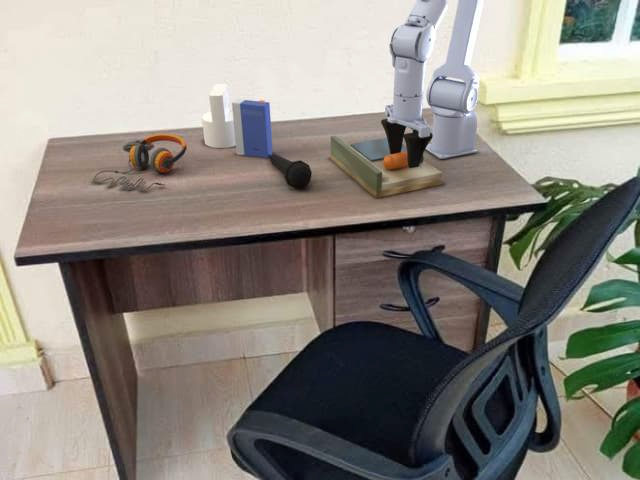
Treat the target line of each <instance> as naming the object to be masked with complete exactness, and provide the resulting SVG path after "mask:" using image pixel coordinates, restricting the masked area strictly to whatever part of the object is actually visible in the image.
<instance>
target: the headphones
mask: <svg viewBox="0 0 640 480" xmlns="http://www.w3.org/2000/svg"><path fill="white" fill-rule="evenodd" d="M164 141H165V142H173V143H177V144H179V145H180V146H181V150H180V151H179V152H178V153H177V154H175V155H173V154H172V152H171V151H170V150H169V149H167V148H166V147H157V149H155V150H154V151H153V152H152V154H151V155H150V154H149V149H148V148H147V146H146V145H149V144H153V143H156V142H164ZM187 149H188V147H187V143H186V141H185V140H184V138H182V137H181V136H179V135H176V134H172V133H156V134H152V135H148V136H146V137H144V138H143V139H142V140H141V141H139V142H138V143H137V144H136V145H134V146H132V147H130V150H129V154H128V158H129V160H128V162H127V163H128V167H129V168H130V170H128V171H118V170H109V169H107V170H102V171H99V172H98V173H96V174H95V175H94V176H93V182H94V183H96V184H101V183H103V182H106V181H108V180H109V181H110V180H111V182H110V183H109V184H108V186H107V188H108V189H110V188H112V187H113V186H115V184H116V183H119V185H121V186H122V187H121V190H122V191H125V190H127V191H131V190H132V189H134V187H135V189H138V188H139V191H141V192H146V191H148V190H149V189H150V188H151V187H152V186H153V185H157V186H164V187H165V186H166V184H163V183H161V182H153V183H151V184H150V185H149V186H148V187H146V188H145V189H142V188H143V187H144V186H145V184H146V183H147V181H146V180H145V179H144V178H143V177H141V178H139V179H138V180H136V182H135V183H133V182H131V179H129V178H128V179H127V176H126V175H139V174H144V173H145V174H146V173H147V172H148V173H149V172H152V171H153V172H156V173H157V174H164V173H169V172H170V171H171V170H172V169H173V167H174V165H175V163H176V162H177V161H179V160H180V159H181V158H182V157H183V156H184V155H185V153H186V151H187ZM149 164H150V168H151V169H147V167H148V166H149ZM131 165H132V166H133V167H134V168H138V169H139V170H144V171H141V172H132V171H133V167H132V166H131ZM146 169H147V170H146ZM105 172H106V173H107V172H108V173H109V172H110V173H115V174H120V175H123V176H121V177H119V178H118V179H117V180H115V179H114V178H113V177H108V178H106V179H102V180H101V181H96V177H97V176H98V175H100V174H102V173H105ZM126 179H127V180H126ZM120 180H121V181H120ZM114 181H115V182H114ZM119 181H120V182H119ZM130 182H131V183H130Z"/></svg>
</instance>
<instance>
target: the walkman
mask: <svg viewBox="0 0 640 480" xmlns="http://www.w3.org/2000/svg"><path fill="white" fill-rule="evenodd" d="M231 110H233V122H234V132H235V143H236V146H235V151H236V152H235V153H236V155H238V156H239V155H240V156H248V157H256V158H265V159H268V158H269V157H268V155H274V153H273V152H274V151H273V138H272V121H271V120H272V119H271V105H270V102H269V101H266V100H263V99H259V100H249V99H240V98H237V99H235V100H234V101H232V102H231Z"/></svg>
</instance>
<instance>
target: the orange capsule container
mask: <svg viewBox="0 0 640 480" xmlns="http://www.w3.org/2000/svg"><path fill="white" fill-rule="evenodd" d="M423 160H425V156H424V154H423V156H422V159H421V162H420V164H422V163H423ZM383 165H384V167H385V168H386V169H388V170H392V169H397V168H402V167H407V166H408V160H407V151H406V152H401V153H396V154H391V155H387V156H386V157H385V158H384V160H383Z"/></svg>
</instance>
